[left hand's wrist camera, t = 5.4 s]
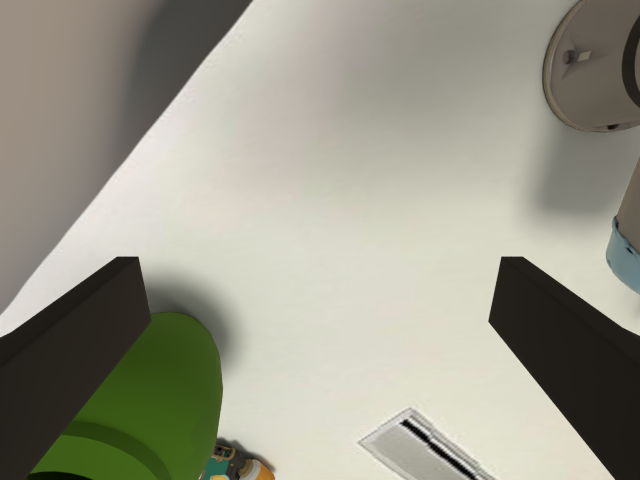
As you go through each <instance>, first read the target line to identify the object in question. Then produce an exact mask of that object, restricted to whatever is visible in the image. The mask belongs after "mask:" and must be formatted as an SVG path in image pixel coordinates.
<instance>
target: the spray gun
mask: <svg viewBox="0 0 640 480" xmlns="http://www.w3.org/2000/svg"><path fill="white" fill-rule="evenodd" d="M215 447H216V449H215V448H214V450H213V453H212V456H211V457H210V459H209V461H208V463H207V464H206V466H205V468H204V470H203V472H202V475H201V479H200V480H239V479H240V480H275V477H274V474H273V473H272V472H271V471H269V470H268V469H267V468H266V467H265V466H264V465H263V464H262V463H261V462H259V461H257V460H255V459H254V460H251V459H246V460H244V459H243V458H242V457H241V455H240V454H239V453H238V452H237V451H235V448H233V447H232V448H228V447H224V446H220V445H217V444H216V445H215ZM224 450H225V451H224ZM228 450H229V451H231V450H233V451H231V452H230V453H229V452H228ZM237 469H239V472H237ZM238 473H239V474H238Z"/></svg>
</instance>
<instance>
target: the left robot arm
mask: <svg viewBox="0 0 640 480" xmlns="http://www.w3.org/2000/svg"><path fill="white" fill-rule="evenodd" d="M543 83H544V90H545V95H546V98H547V101H548V103H549V105H550V107H551V109H552V110H553V112H554V113H555V114H556V116H557V117H558V118H559V119H560V120H562V121H563V122H564V123H566V124H567V125H569V126H571V127H573V128H576V129H579V130H583V131H591V132H613V131H619V130H624V129H628V128H631V127H634V126H638V125H640V0H581V1H580V2H579V3H578V4H577V5H576V6H575V7H574V8H573V9H572V10H571V11H570V12H569V13H568V14H567V16H566V17H565V18H564V20H563V21H562V22H561V24H560V25H559V27H558V29H557V30H556V32H555V34H554V36H553V38H552V40H551V43H550V45H549V48H548V51H547V54H546V58H545V63H544V72H543ZM612 228H613V230H612V234H611V237H610V240H609V243H608V246H607V250H606V260H607V263H608V265H609V267H610V268H611V269H612V271H613V273H614V274H615V276H616V277H617V278H618V279H619V280H621V281H622V282H623V283H624V284H625V285H627V286H628V287H629V288H631V289H632V290H633V291H635V292H637V293H638V294H640V158H639V160H638V163H637V165H636V168H635V170H634V173H633V176H632V178H631V181H630V183H629V186H628V188H627V191H626V193H625V196H624V199H623V201H622V204H621V206H620V209H619V211H618V214H617V215H616V216H615V217H614V219H613V221H612ZM151 322H152V321H151V316H150V311H149V306H148V301H147V296H146V291H145V286H144V281H143V277H142V272H141V267H140V262H139V257H116V258H115V259H113V260H112V261H110V262H109V263H108V264H106V265H105V266H103V267H102V268H101V269H99V270H98V271H96V272H95V273H94V274H92V275H91V276H89V277H88V278H87V279H85V280H84V281H82V282H81V283H80V284H78V285H77V286H75V287H74V288H73V289H71V290H70V291H68V292H67V293H66V294H64V295H63V296H61V297H60V298H59V299H57V300H56V301H54V302H53V303H52V304H50V305H49V306H47V307H46V308H44V309H43V310H42V311H40V312H39V313H37V314H36V315H35V316H33V317H32V318H30V319H29V320H28V321H26V322H25V323H23V324H22V325H21V326H19V327H18V328H16V329H15V330H14V331H12V332H11V333H9V334H7V335H5V336H2V337H0V480H25V479H26V477H27V476H28V475H29V474H30V473H31V471H32V470H33V469H34V468H35V466H36V465H37V464H38V463H39V461H40V460H41V459H42V458H43V456H44V455H45V454H46V453H47V451H48V450H49V449H50V448H51V446H52V445H53V444H54V443H55V441H56V440H57V439H58V438H59V436H60V435H61V434H62V433H63V431H64V430H65V429H66V428H67V426H68V425H69V424H70V423H71V421H72V420H73V419H74V418H75V416H76V415H77V414H78V413H79V412H80V410H81V409H82V408H83V407H84V405H85V404H86V403H87V402H88V400H89V399H90V398H91V397H92V395H93V394H94V393H95V392H96V390H97V389H98V388H99V387H100V385H101V384H102V383H103V382H104V380H105V379H106V378H107V377H108V375H109V374H110V373H111V372H112V370H113V369H114V368H115V367H116V365H117V364H118V363H119V362H120V360H121V359H122V358H123V357H124V355H125V354H126V353H127V352H128V350H129V349H130V348H131V347H132V346H133V344H134V343H135V342H136V341H137V339H138V338H139V337H140V336H141V334H142V333H143V332H144V331H145V329H146V328H147V327H148V326H149V324H150V323H151ZM488 322H489V323H490V324H491V326H492V327H493V328H494V329H495V331H496V332H497V333H498V334H499V336H500V337H501V338H502V339H503V341H504V342H505V343H506V344H507V346H508V347H509V348H510V349H511V350H512V352H513V353H514V354H515V355H516V357H517V358H518V359H519V360H520V362H521V363H522V364H523V365H524V367H525V368H526V369H527V370H528V372H529V373H530V374H531V375H532V377H533V378H534V379H535V380H536V382H537V383H538V384H539V385H540V387H541V388H542V389H543V390H544V392H545V393H546V394H547V395H548V397H549V398H550V399H551V400H552V402H553V403H554V404H555V405H556V407H557V408H558V409H559V410H560V412H561V413H562V414H563V415H564V416H565V418H566V419H567V420H568V421H569V423H570V424H571V425H572V426H573V428H574V429H575V430H576V431H577V433H578V434H579V435H580V436H581V438H582V439H583V440H584V441H585V443H586V444H587V445H588V446H589V448H590V449H591V450H592V451H593V453H594V454H595V455H596V456H597V458H598V459H599V460H600V461H601V463H602V464H603V465H604V466H605V468H606V469H607V470H608V471H609V473H610V474H611V475H612V476H613V477H614V479H615V480H640V336H639V335H637V334H634V333H632V332H630V331H628V330H626V329H624V328H622V327H621V326H619V325H618V324H617V323H615V322H614V321H612V320H611V319H610V318H608V317H607V316H605V315H604V314H603V313H601V312H600V311H598V310H597V309H595V308H594V307H593V306H591V305H590V304H588V303H587V302H586V301H584V300H583V299H581V298H580V297H579V296H577V295H576V294H574V293H573V292H572V291H570V290H569V289H567V288H566V287H565V286H563V285H562V284H560V283H559V282H558V281H556V280H555V279H553V278H552V277H551V276H549V275H548V274H546V273H545V272H544V271H542V270H541V269H539V268H538V267H537V266H535V265H534V264H532V263H531V262H530V261H528V260H527V259H525V258H524V257H501V262H500V267H499V272H498V277H497V281H496V286H495V291H494V296H493V301H492V306H491V311H490V316H489V321H488Z"/></svg>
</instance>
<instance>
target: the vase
mask: <svg viewBox="0 0 640 480" xmlns="http://www.w3.org/2000/svg"><path fill="white" fill-rule="evenodd" d="M150 316H151V321H152V322H151V323H150V324H149V326H148V327H147V328H146V329H145V331H144V332H143V333H142V334H141V336H140V337H139V338H138V339H137V341H136V342H135V343H134V344H133V346H132V347H131V348H130V349H129V350H128V352H127V353H126V354H125V355H124V357H123V358H122V359H121V360H120V362H119V363H118V364H117V365H116V367H115V368H114V369H113V370H112V372H111V373H110V374H109V375H108V377H107V378H106V379H105V380H104V382H103V383H102V384H101V385H100V387H99V388H98V389H97V390H96V392H95V393H94V394H93V395H92V397H91V398H90V399H89V400H88V402H87V403H86V404H85V405H84V407H83V408H82V409H81V410H80V412H79V413H78V414H77V415H76V416H75V418H74V419H73V420H72V421H71V423H70V424H69V425H68V426H67V428H66V429H65V430H64V431H63V433H62V434H61V435H60V436H59V438H58V439H57V440H56V441H55V443H54V444H53V445H52V446H51V448H50V449H49V450H48V451H47V453H46V454H45V455H44V456H43V458H42V459H41V460H40V461H39V463H38V464H37V465H36V466H35V468H34V469H33V470H32V471H31V473H30V474H29V475H28V476H27V477H26V479H25V480H198V479H199V477H200V475H201V473H202V472H203V470H204V468H205V466H206V464H207V463H208V461H209V459H210V457H211V456H212V453H213V450H214V447H215V445H216V439H217V432H218V425H219V418H220V411H221V404H222V395H223V384H222V374H221V364H220V357H219V352H218V350H217V347H216V345H215V343H214V340H213V338H212V336H211V334H210V333H209V331H208V330H207V328H206V327H205V326H204V325H203V324H202V323H200V322H199V321H197V320H196V319H194V318H192V317H190V316H188V315H185V314H182V313H176V312H162V313H154V314H150Z"/></svg>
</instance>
